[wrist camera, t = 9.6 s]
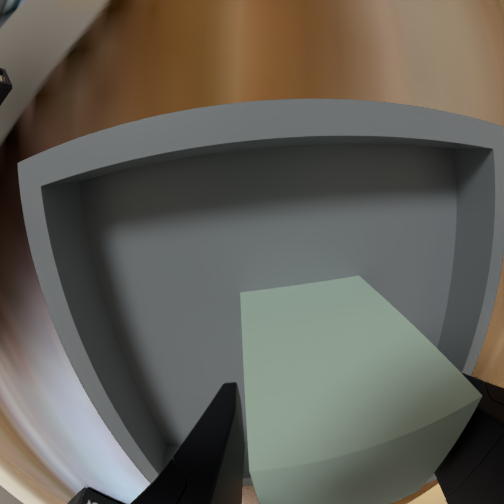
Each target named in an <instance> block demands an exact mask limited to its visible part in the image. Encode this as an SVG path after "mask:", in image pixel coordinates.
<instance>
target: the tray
mask: <svg viewBox="0 0 504 504" xmlns="http://www.w3.org/2000/svg"><path fill="white" fill-rule="evenodd" d="M17 164H18V177H19V187H20V195H21V203H22V209H23V215H24V221H25V227H26V232H27V237H28V241H29V246H30V250H31V254H32V258H33V262H34V266H35V270H36V273H37V277H38V280H39V283H40V287H41V290H42V293H43V296H44V299H45V302H46V305H47V308H48V310H49V313H50V316H51V318H52V321H53V324H54V326H55V329H56V331H57V334H58V336H59V338H60V341H61V343H62V345H63V347H64V350H65V352H66V354H67V356H68V358H69V360H70V363H71V365H72V367H73V369H74V371H75V373H76V375H77V377H78V378H79V380H80V382H81V384H82V386H83V388H84V390H85V391H86V393H87V395H88V397H89V398H90V400H91V402H92V404H93V405H94V407H95V409H96V410H97V412H98V414H99V415H100V417H101V418H102V420H103V421H104V423H105V424H106V426H107V428H108V429H109V430H110V432H111V433H112V435H113V436H114V438H115V439H116V441H117V442H118V443H119V445H120V446H121V448H122V449H123V450H124V452H125V453H126V454H127V456H128V457H129V458H130V459H131V461H132V462H133V463H134V464H135V466H136V467H137V468H138V469H139V471H140V472H141V473H142V474H143V475H144V477H145V478H146V479H147V480H148V481H149V482H150V483H152V482H153V481H154V480H155V479H156V477H157V476H158V475H159V474H160V473H161V471H162V470H163V469H164V468H165V466H166V465H167V464H168V462H169V461H170V459H173V456H174V454H175V453H176V451H177V450H178V449H179V447H180V446H181V444H182V443H183V442H184V440H185V439H186V437H187V436H188V435H189V433H190V432H191V430H192V429H193V427H194V426H195V425H196V423H197V422H198V420H199V419H200V417H201V416H202V414H203V413H204V412H205V410H206V409H207V407H208V406H209V404H210V403H211V401H212V400H213V398H214V397H215V395H216V394H217V392H218V391H219V389H220V388H221V386H222V385H223V384H224V383H229V382H236V383H237V384H238V389H239V393H240V398H241V405H242V416H243V428H244V440H245V453H244V470H243V486H250V485H253V482H252V479H251V475H250V472H249V458H248V441H247V424H246V407H245V388H244V368H243V347H242V324H241V300H240V292H248V291H256V290H264V289H272V288H279V287H287V286H294V285H301V284H308V283H315V282H321V281H328V280H335V279H341V278H347V277H353V276H360V277H361V278H362V279H363V280H365V281H366V282H367V283H368V284H369V285H370V286H371V287H372V288H374V289H375V290H376V291H377V292H378V293H379V294H380V295H381V296H382V297H384V298H385V299H386V300H387V301H388V302H389V303H390V304H391V305H392V306H393V307H394V308H395V309H397V310H398V311H399V312H400V313H401V314H402V315H403V316H404V317H405V318H406V319H407V320H408V321H409V322H410V323H411V324H413V325H414V326H415V327H416V328H417V329H418V330H419V331H420V332H421V333H422V334H423V335H424V336H425V337H426V338H427V339H428V340H429V341H430V342H431V343H432V344H433V345H434V346H435V347H436V348H437V349H438V350H439V351H440V352H441V353H442V354H443V355H444V356H445V357H446V358H447V359H448V360H449V361H450V362H451V363H452V364H453V365H454V366H455V367H456V368H457V369H458V370H459V371H460V372H462V373H464V374H467V375H469V376H471V375H472V373H473V370H474V368H475V365H476V362H477V360H478V357H479V354H480V351H481V348H482V345H483V342H484V339H485V336H486V333H487V329H488V326H489V322H490V319H491V315H492V311H493V307H494V303H495V299H496V294H497V289H498V284H499V279H500V273H501V267H502V261H503V253H504V131H503V126H500V125H497V124H494V123H490V122H487V121H483V120H479V119H476V118H472V117H468V116H464V115H459V114H455V113H450V112H446V111H440V110H435V109H430V108H424V107H418V106H411V105H404V104H396V103H387V102H376V101H364V100H346V99H283V100H265V101H252V102H241V103H232V104H224V105H216V106H209V107H202V108H196V109H190V110H184V111H179V112H173V113H168V114H164V115H159V116H154V117H150V118H146V119H141V120H137V121H133V122H130V123H126V124H122V125H118V126H115V127H111V128H108V129H105V130H101V131H98V132H95V133H92V134H89V135H86V136H83V137H80V138H77V139H74V140H72V141H69V142H66V143H63V144H61V145H58V146H56V147H53V148H51V149H48V150H46V151H43V152H41V153H39V154H36V155H34V156H32V157H29V158H27V159H25V160H23V161H21V162H19V163H17Z"/></svg>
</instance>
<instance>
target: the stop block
mask: <svg viewBox="0 0 504 504" xmlns="http://www.w3.org/2000/svg"><path fill="white" fill-rule="evenodd" d="M240 300H241V324H242V347H243V368H244V388H245V407H246V424H247V441H248V458H249V472H250V475H251V479H252V482H253V485H254V488H255V492H256V495H257V498H258V501H259V504H390V503H393V502H395V501H398V500H400V499H402V498H405V497H407V496H409V495H411V494H414V493H416V492H418V491H419V490H420V489H421V488H422V487H423V486H424V484H425V483H426V482H427V481H428V479H429V478H430V477H431V476H432V474H433V473H434V472H435V471H436V469H437V468H438V467H439V465H440V464H441V463H442V461H443V460H444V459H445V457H446V456H447V454H448V453H449V451H450V450H451V449H452V447H453V446H454V444H455V443H456V441H457V439H458V438H459V436H460V435H461V433H462V432H463V430H464V428H465V427H466V425H467V423H468V421H469V420H470V418H471V416H472V414H473V413H474V411H475V409H476V407H477V405H478V403H479V401H480V399H481V397H482V395H481V394H480V392H479V391H478V390H477V389H476V388H475V387H474V386H473V385H472V384H471V383H470V382H469V381H468V380H467V379H466V377H465V376H464V375H463V374H462V373H461V372H460V371H459V370H458V369H457V368H456V367H455V366H454V365H453V364H452V363H451V362H450V361H449V360H448V359H447V358H446V357H445V356H444V355H443V354H442V353H441V352H440V351H439V350H438V349H437V348H436V347H435V346H434V345H433V344H432V343H431V342H430V341H429V340H428V339H427V338H426V337H425V336H424V335H423V334H422V333H421V332H420V331H419V330H418V329H417V328H416V327H415V326H414V325H413V324H411V323H410V322H409V321H408V320H407V319H406V318H405V317H404V316H403V315H402V314H401V313H400V312H399V311H398V310H397V309H395V308H394V307H393V306H392V305H391V304H390V303H389V302H388V301H387V300H386V299H385V298H384V297H382V296H381V295H380V294H379V293H378V292H377V291H376V290H375V289H374V288H372V287H371V286H370V285H369V284H368V283H367V282H366V281H365V280H363V279H362V278H361V277H360V276H353V277H347V278H341V279H335V280H328V281H321V282H315V283H308V284H301V285H294V286H287V287H279V288H272V289H264V290H256V291H248V292H240Z"/></svg>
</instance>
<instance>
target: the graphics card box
mask: <svg viewBox="0 0 504 504" xmlns="http://www.w3.org/2000/svg"><path fill="white" fill-rule="evenodd" d="M68 504H118V503H116V502H114V501H112V500H109V499H107V498H105V497H103V496H101V495H99V494H97V493H95V492H93V491H91V490H89V489H87V488H85V487H84V488H83V489H82V490H81V491H80V492H79V493H78V494H77V495H76V496H75V497H74V498H73V499H72V500H71V501H69V503H68Z"/></svg>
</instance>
